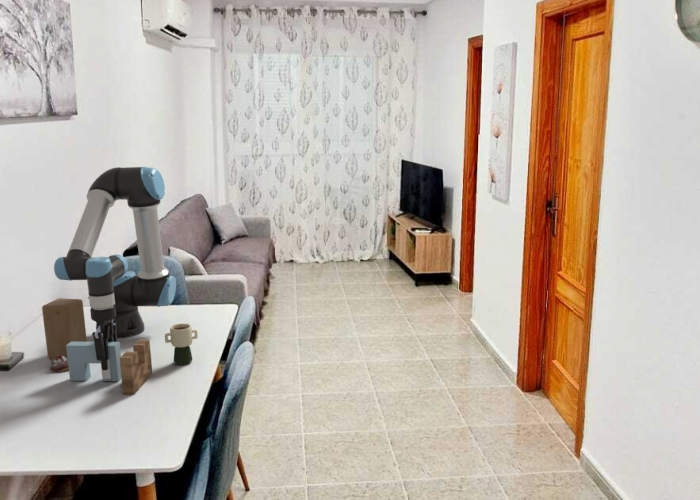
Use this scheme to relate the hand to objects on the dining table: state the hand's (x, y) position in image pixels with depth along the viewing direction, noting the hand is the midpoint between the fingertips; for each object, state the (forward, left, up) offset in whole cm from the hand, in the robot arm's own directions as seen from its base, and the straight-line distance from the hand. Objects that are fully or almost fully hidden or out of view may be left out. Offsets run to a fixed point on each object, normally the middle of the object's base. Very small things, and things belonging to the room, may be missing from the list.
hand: (109, 375), depth 218 cm
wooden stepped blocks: (+3, +10, -1) cm, 11 cm away
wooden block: (-20, -24, -2) cm, 31 cm away
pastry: (-9, -20, -2) cm, 22 cm away
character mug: (-15, +19, -2) cm, 25 cm away
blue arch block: (0, -5, -1) cm, 5 cm away
